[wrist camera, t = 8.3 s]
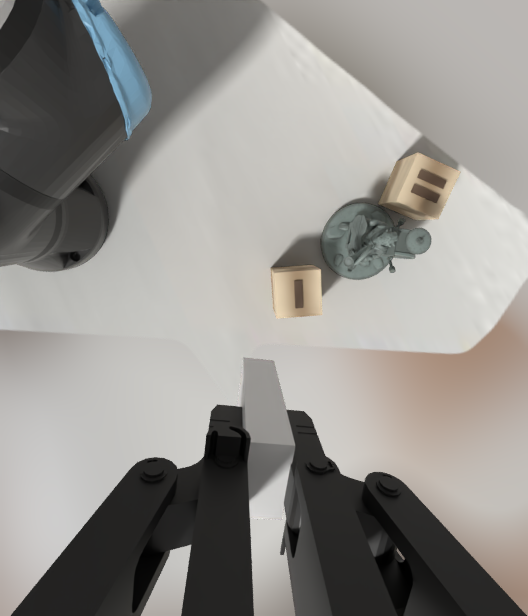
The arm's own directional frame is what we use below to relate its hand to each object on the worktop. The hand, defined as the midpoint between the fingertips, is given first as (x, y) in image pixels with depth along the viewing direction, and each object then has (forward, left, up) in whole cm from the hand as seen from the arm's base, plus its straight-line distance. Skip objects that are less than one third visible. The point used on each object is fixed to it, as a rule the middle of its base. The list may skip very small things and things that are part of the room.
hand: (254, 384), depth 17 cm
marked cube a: (+6, 0, -34) cm, 34 cm away
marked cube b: (+20, +16, -34) cm, 42 cm away
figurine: (+14, +8, -34) cm, 38 cm away
